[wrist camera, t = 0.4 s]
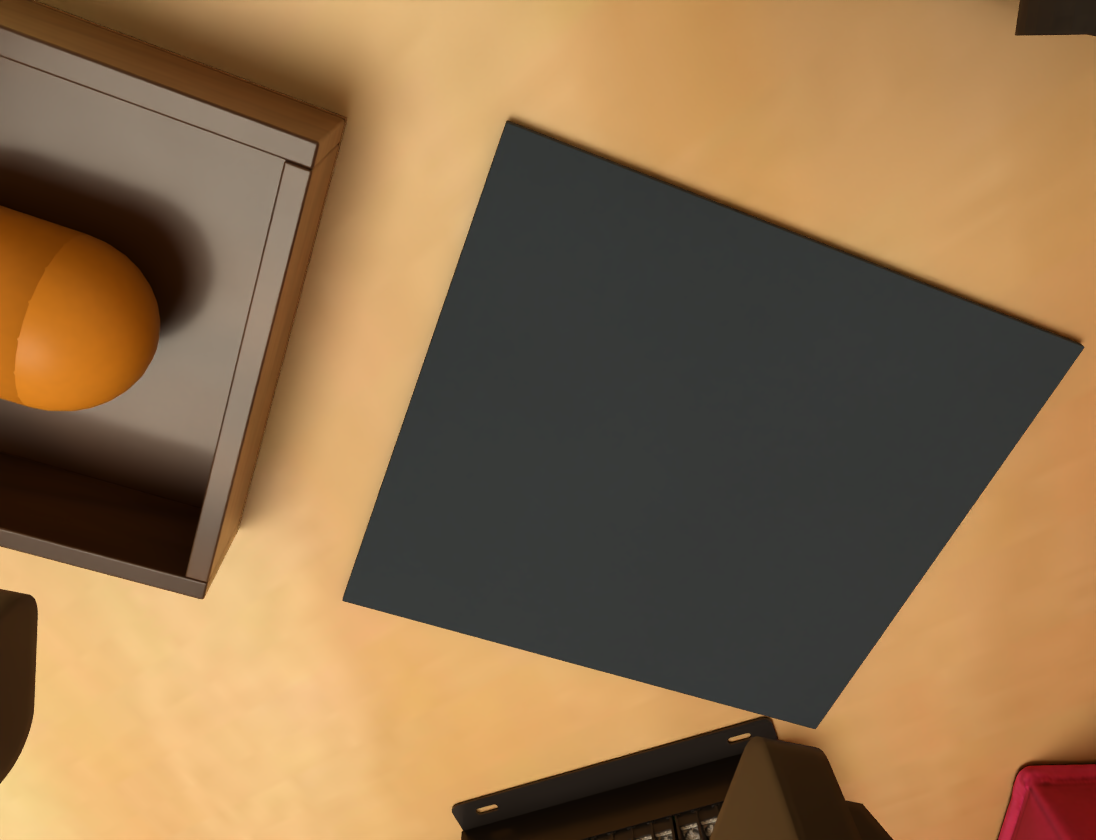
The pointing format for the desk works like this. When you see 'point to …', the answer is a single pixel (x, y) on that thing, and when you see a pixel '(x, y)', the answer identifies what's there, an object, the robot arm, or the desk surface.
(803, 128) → the desk surface
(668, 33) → the desk surface
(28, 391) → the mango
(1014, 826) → the storage bin
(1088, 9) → the binoculars
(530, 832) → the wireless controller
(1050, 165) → the desk surface
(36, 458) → the wooden tray
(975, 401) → the desk pad
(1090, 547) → the desk surface
